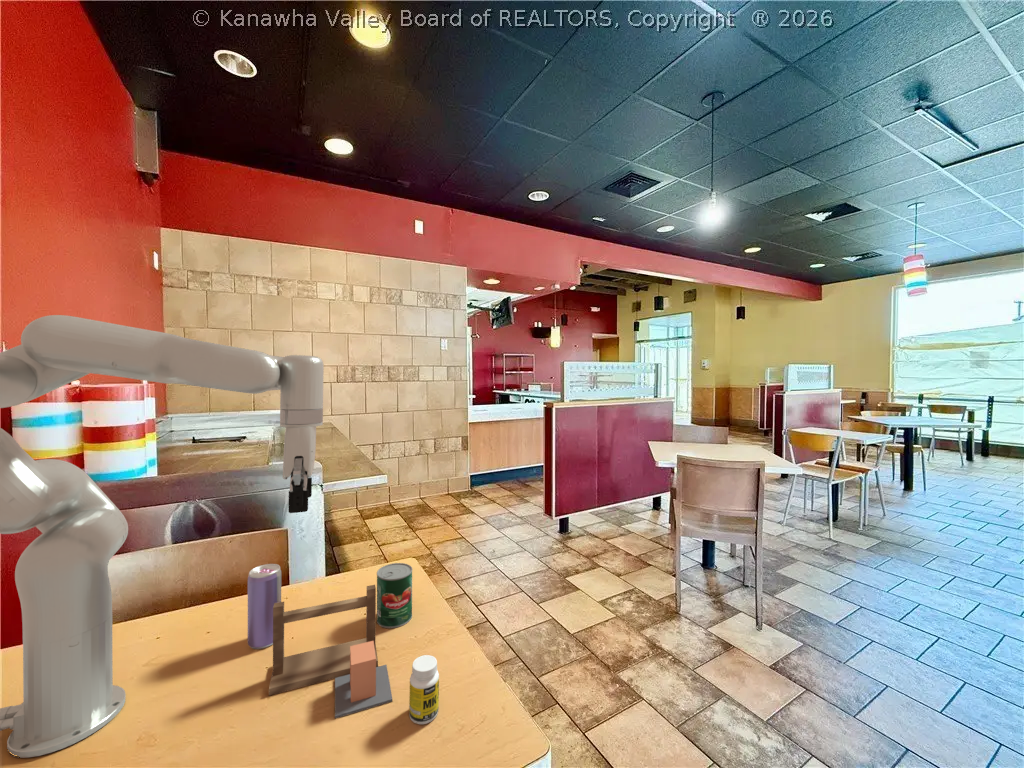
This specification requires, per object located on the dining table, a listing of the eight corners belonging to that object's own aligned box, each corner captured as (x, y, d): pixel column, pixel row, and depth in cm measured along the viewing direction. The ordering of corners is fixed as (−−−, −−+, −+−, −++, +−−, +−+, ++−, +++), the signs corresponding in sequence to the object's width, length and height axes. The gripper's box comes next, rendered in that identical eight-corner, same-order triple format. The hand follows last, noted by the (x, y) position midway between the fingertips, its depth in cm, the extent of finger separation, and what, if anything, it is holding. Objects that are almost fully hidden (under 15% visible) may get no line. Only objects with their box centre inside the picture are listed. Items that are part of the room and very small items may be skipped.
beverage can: (265, 652, 81) (265, 578, 80) (240, 648, 82) (240, 574, 82) (287, 634, 86) (287, 564, 86) (263, 630, 88) (264, 561, 87)
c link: (350, 702, 68) (351, 665, 68) (349, 681, 73) (350, 646, 73) (375, 695, 70) (376, 658, 69) (373, 674, 74) (373, 640, 74)
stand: (268, 695, 70) (269, 617, 70) (275, 665, 77) (275, 594, 77) (377, 666, 77) (378, 596, 77) (374, 641, 84) (374, 577, 84)
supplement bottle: (424, 730, 63) (424, 677, 63) (403, 717, 66) (403, 666, 66) (444, 709, 67) (445, 659, 67) (424, 697, 70) (424, 649, 70)
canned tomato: (397, 604, 98) (397, 559, 98) (419, 615, 94) (419, 568, 93) (369, 620, 92) (369, 572, 92) (391, 633, 87) (391, 582, 87)
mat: (334, 718, 65) (334, 716, 65) (335, 680, 73) (335, 678, 73) (392, 701, 69) (392, 699, 69) (386, 666, 77) (386, 664, 77)
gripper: (285, 414, 86) (284, 494, 86) (273, 423, 70) (271, 521, 70) (324, 414, 89) (323, 491, 89) (320, 422, 73) (319, 516, 73)
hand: (300, 504), depth 80 cm, fingers open, 9 cm apart
